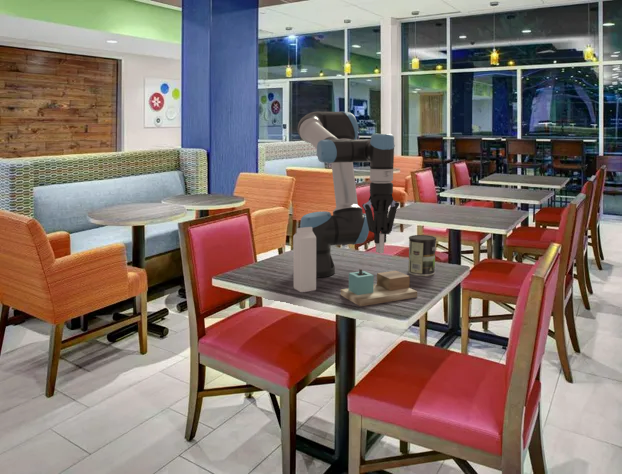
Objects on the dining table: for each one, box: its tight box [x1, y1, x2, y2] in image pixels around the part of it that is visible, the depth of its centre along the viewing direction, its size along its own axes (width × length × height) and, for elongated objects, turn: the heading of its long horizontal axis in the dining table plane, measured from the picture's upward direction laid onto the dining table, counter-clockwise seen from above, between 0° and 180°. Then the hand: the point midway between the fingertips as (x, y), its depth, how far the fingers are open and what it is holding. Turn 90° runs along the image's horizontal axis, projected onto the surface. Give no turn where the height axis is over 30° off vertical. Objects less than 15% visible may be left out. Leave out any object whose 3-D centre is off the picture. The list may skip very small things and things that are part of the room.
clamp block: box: [376, 270, 411, 290], centre depth 187 cm, size 8×8×4 cm
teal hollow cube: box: [348, 270, 375, 295], centre depth 181 cm, size 6×6×6 cm
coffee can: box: [407, 234, 437, 277], centre depth 211 cm, size 10×10×14 cm
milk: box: [292, 227, 317, 293], centre depth 189 cm, size 6×6×22 cm
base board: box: [340, 268, 418, 307], centre depth 182 cm, size 13×22×10 cm, turn 116°
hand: (379, 252), depth 182 cm, fingers closed
